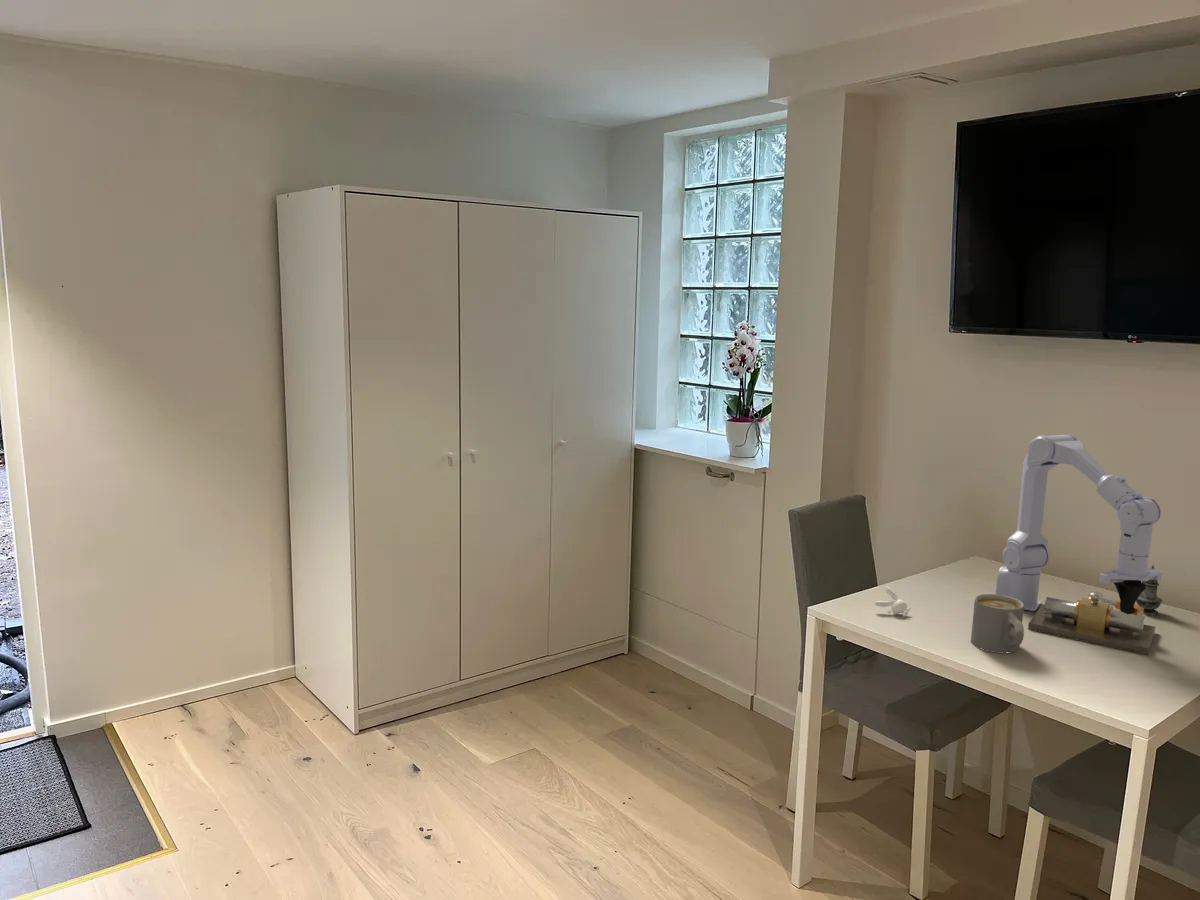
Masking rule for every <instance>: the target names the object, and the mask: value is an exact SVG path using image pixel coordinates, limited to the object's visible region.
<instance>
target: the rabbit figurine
mask: <svg viewBox="0 0 1200 900" xmlns="http://www.w3.org/2000/svg"><path fill="white" fill-rule="evenodd" d="M885 592H886V594H887V595H888V596H889V597H890V598H891V601H890V600H889V601H888V600H885V601H884V600H877V601H874V605H875V606H876V607H881V608H885V607H890V606H891V609H890V610H888V611H887V613H888V612H889V613H891V612H892V613H893V614H895V615H899V614H902V617H903V618H906V616H908V615H909V612H910V611H911V607H910V606H908V604H907V602H906V601H904V600H903V599H901V598H900V599H898V594H896V593H895V592H894V590H893V589H892V588H891V587H889V586H887V585H885ZM892 600H894V601H892ZM890 611H891V612H890Z"/></svg>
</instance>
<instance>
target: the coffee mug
mask: <svg viewBox="0 0 1200 900" xmlns="http://www.w3.org/2000/svg"><path fill="white" fill-rule="evenodd" d="M1024 611H1025V610H1024V604H1023V603H1022V602H1021V601H1019V600H1017V599H1015V598H1012V597H1008V596H1004V595H997V594H996V593H983V594H978V595H977V596H975V597H974V603H973V612H972V613H973V614H972V624H971V632H970V633H971V635H970V643H971V644H972V645H973V646H974V645H975V646H974V647H976V648H978V649H980V648H982V649H984V650H983V651H986V650H988V651H987V652H989V651H994V652H1003V653H1002V654H1007V653H1006V652H1014V653H1016V652H1015V651H1017V650H1018V651H1019V650H1020V645H1021V644H1022V643H1023V640H1024V637H1025V636H1024V635H1025V629H1024V624H1023V619H1024ZM982 649H981V650H982ZM1018 651H1017V652H1018ZM994 652H993V653H994Z"/></svg>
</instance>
